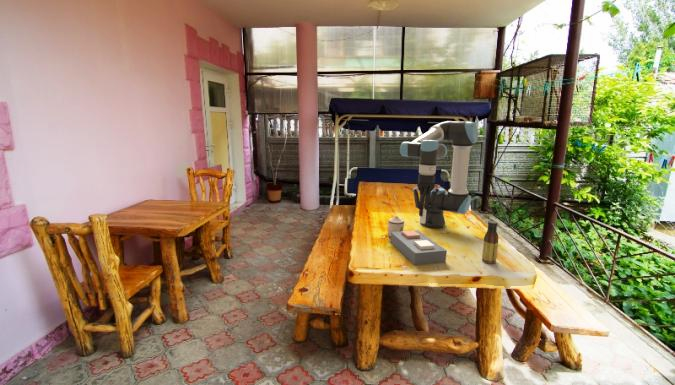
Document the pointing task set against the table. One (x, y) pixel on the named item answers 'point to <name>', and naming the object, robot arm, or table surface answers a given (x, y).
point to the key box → (414, 252)
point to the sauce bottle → (490, 243)
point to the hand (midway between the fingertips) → (422, 222)
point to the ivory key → (423, 244)
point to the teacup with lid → (395, 225)
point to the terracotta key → (410, 234)
